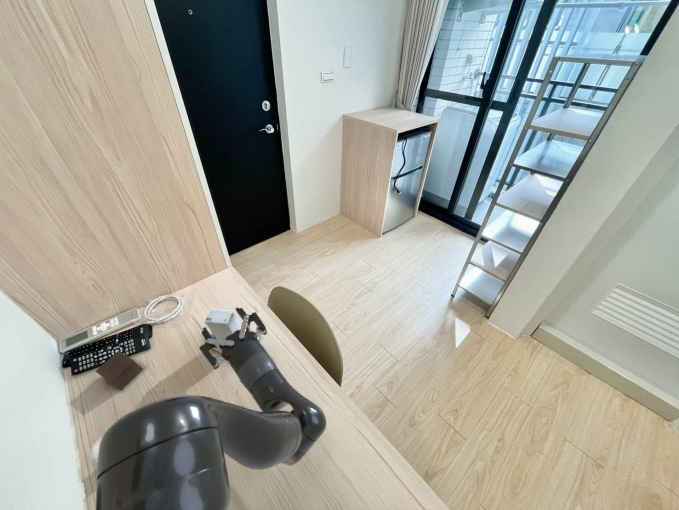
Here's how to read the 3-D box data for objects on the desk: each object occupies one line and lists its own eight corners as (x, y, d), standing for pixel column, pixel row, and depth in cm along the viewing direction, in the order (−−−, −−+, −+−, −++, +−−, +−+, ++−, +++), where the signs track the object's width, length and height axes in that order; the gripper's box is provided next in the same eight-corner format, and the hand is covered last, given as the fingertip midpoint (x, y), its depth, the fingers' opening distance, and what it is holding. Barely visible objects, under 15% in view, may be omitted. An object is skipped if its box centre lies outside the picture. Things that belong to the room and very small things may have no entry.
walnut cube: (121, 390, 68) (110, 382, 64) (106, 379, 70) (94, 371, 66) (143, 369, 72) (133, 360, 68) (128, 359, 74) (118, 350, 70)
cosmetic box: (245, 332, 78) (234, 309, 70) (239, 347, 75) (227, 324, 66) (225, 330, 78) (211, 306, 70) (218, 345, 75) (203, 321, 67)
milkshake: (146, 447, 59) (121, 436, 53) (121, 473, 56) (91, 465, 49) (134, 434, 61) (108, 422, 54) (109, 460, 58) (78, 450, 51)
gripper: (279, 337, 60) (243, 294, 69) (218, 382, 53) (187, 328, 61) (283, 353, 65) (250, 311, 74) (228, 395, 58) (198, 344, 67)
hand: (221, 319), depth 68 cm, fingers open, 8 cm apart
